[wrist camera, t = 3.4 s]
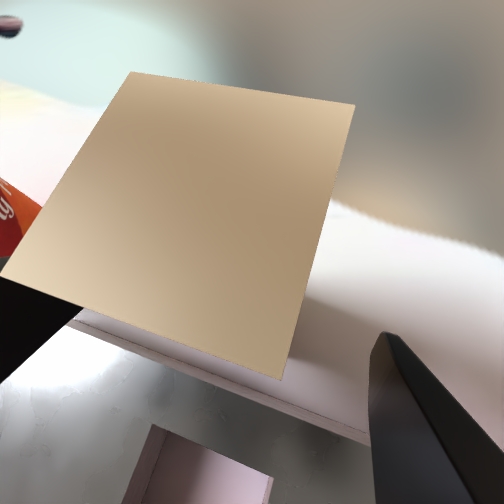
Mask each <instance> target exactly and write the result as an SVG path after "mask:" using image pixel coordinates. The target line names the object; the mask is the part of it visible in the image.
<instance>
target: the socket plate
mask: <svg viewBox="0 0 504 504" xmlns="http://www.w3.org/2000/svg"><path fill="white" fill-rule="evenodd" d="M168 431H171V432H173V433H175V434H177V435H179V436H182V437H184V438H186V439H188V440H191V441H193V442H195V443H197V444H199V445H202V446H204V447H206V448H208V449H210V450H213V451H215V452H217V453H219V454H222V455H224V456H226V457H228V458H230V459H233V460H235V461H237V462H239V463H242V464H244V465H246V466H248V467H250V468H253V469H255V470H257V471H259V472H261V473H264V474H266V475H268V476H269V480H268V484H267V488H266V491H265V495H264V499H263V503H262V504H376V502H375V490H374V478H373V466H372V454H371V442H370V435H369V434H367V433H364V432H361V431H359V430H356V429H354V428H351V427H349V426H346V425H343V424H341V423H338V422H336V421H333V420H330V419H328V418H325V417H323V416H320V415H318V414H315V413H312V412H310V411H307V410H305V409H302V408H300V407H297V406H294V405H292V404H289V403H287V402H284V401H281V400H279V399H276V398H274V397H271V396H269V395H266V394H263V393H261V392H258V391H256V390H253V389H251V388H248V387H245V386H243V385H240V384H238V383H235V382H233V381H230V380H227V379H225V378H222V377H220V376H217V375H214V374H212V373H209V372H207V371H204V370H202V369H199V368H196V367H194V366H191V365H189V364H186V363H184V362H181V361H178V360H176V359H173V358H171V357H168V356H165V355H163V354H160V353H158V352H155V351H153V350H150V349H147V348H145V347H142V346H140V345H137V344H135V343H132V342H129V341H127V340H124V339H122V338H119V337H116V336H114V335H111V334H109V333H106V332H104V331H101V330H98V329H96V328H93V327H91V326H88V325H86V324H83V323H80V322H78V321H75V320H73V319H71V320H70V321H69V322H68V323H67V324H66V325H65V326H64V327H63V328H62V329H61V330H59V331H58V332H57V333H56V334H55V335H54V336H53V337H52V338H51V339H50V340H48V341H47V342H46V343H45V344H44V345H43V346H42V347H41V348H40V349H39V350H37V351H36V352H35V353H34V354H33V355H32V356H31V357H30V358H29V359H28V360H27V361H25V362H24V363H23V364H22V365H21V366H20V367H19V368H18V369H17V370H16V371H14V372H13V373H12V374H11V375H10V376H9V377H8V378H7V379H6V380H5V381H3V382H2V383H1V384H0V504H141V502H142V500H143V497H144V494H145V492H146V489H147V486H148V483H149V481H150V478H151V475H152V473H153V470H154V467H155V465H156V462H157V459H158V457H159V454H160V451H161V448H162V446H163V443H164V440H165V438H166V435H167V432H168Z"/></svg>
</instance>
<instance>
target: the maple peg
mask: <svg viewBox="0 0 504 504" xmlns="http://www.w3.org/2000/svg"><path fill="white" fill-rule="evenodd" d="M354 109H355V105H351V104H344V103H337V102H331V101H324V100H317V99H311V98H304V97H297V96H291V95H284V94H277V93H271V92H263V91H257V90H251V89H244V88H237V87H231V86H224V85H217V84H210V83H204V82H197V81H191V80H184V79H177V78H171V77H164V76H157V75H151V74H144V73H137V72H130V73H129V75H128V76H127V78H126V79H125V81H124V83H123V84H122V86H121V87H120V89H119V90H118V92H117V93H116V95H115V96H114V98H113V99H112V101H111V103H110V104H109V106H108V107H107V109H106V110H105V112H104V113H103V115H102V116H101V118H100V120H99V121H98V123H97V124H96V126H95V127H94V129H93V130H92V132H91V133H90V135H89V137H88V138H87V140H86V141H85V143H84V144H83V146H82V147H81V149H80V150H79V152H78V154H77V155H76V157H75V158H74V160H73V161H72V163H71V164H70V166H69V167H68V169H67V171H66V172H65V174H64V175H63V177H62V178H61V180H60V181H59V183H58V185H57V186H56V188H55V189H54V191H53V192H52V194H51V195H50V197H49V198H48V200H47V202H46V203H45V205H44V206H43V208H42V209H41V211H40V212H39V214H38V215H37V217H36V219H35V220H34V222H33V223H32V225H31V226H30V228H29V229H28V231H27V232H26V234H25V236H24V237H23V239H22V240H21V242H20V243H19V245H18V246H17V248H16V249H15V251H14V253H13V254H12V256H11V257H10V259H9V260H8V262H7V263H6V265H5V266H4V268H3V270H2V271H1V273H0V276H1V277H4V278H7V279H9V280H12V281H15V282H17V283H20V284H23V285H25V286H28V287H31V288H33V289H36V290H39V291H41V292H44V293H47V294H50V295H52V296H55V297H58V298H60V299H63V300H66V301H68V302H71V303H74V304H76V305H79V306H82V307H84V308H87V309H90V310H92V311H95V312H98V313H101V314H103V315H106V316H109V317H111V318H114V319H117V320H119V321H122V322H125V323H127V324H130V325H133V326H135V327H138V328H141V329H143V330H146V331H149V332H151V333H154V334H157V335H160V336H162V337H165V338H168V339H170V340H173V341H176V342H178V343H181V344H184V345H186V346H189V347H192V348H194V349H197V350H200V351H202V352H205V353H208V354H211V355H213V356H216V357H219V358H221V359H224V360H227V361H229V362H232V363H235V364H237V365H240V366H243V367H245V368H248V369H251V370H253V371H256V372H259V373H262V374H264V375H267V376H270V377H272V378H275V379H278V380H280V381H281V379H282V375H283V371H284V368H285V364H286V360H287V357H288V353H289V349H290V346H291V342H292V338H293V334H294V331H295V327H296V323H297V320H298V316H299V312H300V309H301V305H302V301H303V297H304V294H305V290H306V286H307V283H308V279H309V275H310V271H311V268H312V264H313V260H314V257H315V253H316V249H317V246H318V242H319V238H320V234H321V231H322V227H323V223H324V220H325V216H326V212H327V209H328V205H329V201H330V197H331V194H332V190H333V186H334V182H335V179H336V175H337V172H338V168H339V164H340V160H341V157H342V153H343V149H344V146H345V141H346V138H347V134H348V131H349V127H350V123H351V119H352V116H353V112H354Z"/></svg>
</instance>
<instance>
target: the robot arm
mask: <svg viewBox="0 0 504 504" xmlns="http://www.w3.org/2000/svg"><path fill="white" fill-rule="evenodd" d="M10 257H11V256H8V257H0V273H1V271H2V270H3V268H4V266H5V265H6V263H7V262H8V260H9V259H10ZM83 308H84V307H82V306H79V305H76V304H74V303H71V302H68V301H66V300H63V299H60V298H58V297H55V296H52V295H50V294H47V293H44V292H41V291H39V290H36V289H33V288H31V287H28V286H25V285H23V284H20V283H17V282H15V281H12V280H9V279H7V278H4V277H1V276H0V384H1V383H2V382H3V381H5V380H6V379H7V378H8V377H9V376H10V375H11V374H12V373H13V372H14V371H16V370H17V369H18V368H19V367H20V366H21V365H22V364H23V363H24V362H25V361H27V360H28V359H29V358H30V357H31V356H32V355H33V354H34V353H35V352H36V351H37V350H39V349H40V348H41V347H42V346H43V345H44V344H45V343H46V342H47V341H48V340H50V339H51V338H52V337H53V336H54V335H55V334H56V333H57V332H58V331H59V330H61V329H62V328H63V327H64V326H65V325H66V324H67V323H68V322H69V321H70V320H71V319H73V318H74V317H75V316H76V315H77V314H78V313H79V312H80V311H81V310H82V309H83ZM368 417H369V430H370V442H371V454H372V466H373V478H374V490H375V502H376V504H504V452H503V451H502V450H501V449H500V448H499V447H498V446H497V444H496V443H495V442H494V441H493V440H492V439H491V438H490V437H489V436H488V434H487V433H486V432H485V431H484V430H483V429H482V428H481V427H480V426H479V424H478V423H477V422H476V421H475V420H474V419H473V418H472V417H471V416H470V414H469V413H468V412H467V411H466V410H465V409H464V408H463V407H462V406H461V404H460V403H459V402H458V401H457V400H456V399H455V398H454V397H453V396H452V394H451V393H450V392H449V391H448V390H447V389H446V388H445V387H444V386H443V384H442V383H441V382H440V381H439V380H438V379H437V378H436V377H435V376H434V374H433V373H432V372H431V371H430V370H429V369H428V368H427V367H426V366H425V364H424V363H423V362H422V361H421V360H420V359H419V358H418V357H417V356H416V354H415V353H414V352H413V351H412V350H411V349H410V348H409V347H408V346H407V344H406V343H405V342H404V341H403V340H402V339H401V338H400V337H399V336H398V335H396V334H392V333H389V332H386V331H383V332H382V333H381V334H380V335H379V337H378V339H377V341H376V343H375V345H374V347H373V349H372V352H371V355H370V367H369V395H368Z"/></svg>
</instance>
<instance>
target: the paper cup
mask: <svg viewBox="0 0 504 504" xmlns="http://www.w3.org/2000/svg"><path fill="white" fill-rule="evenodd" d="M42 208H43V207H41V206H40V205H39V204H37V203H36V202H34V201H33V200H32V199H30V198H29V197H28V196H26V195H25V194H23V193H22V192H20V191H19V190H18V189H16V188H15V187H13V186H12V185H10V184H9V183H8V182H6V181H5V180H3V179H2V178H0V257H8V256H12V254H13V253H14V251H15V249H16V248H17V246H18V245H19V243H20V242H21V240H22V239H23V237H24V236H25V234H26V232H27V231H28V229H29V228H30V226H31V225H32V223H33V222H34V220H35V219H36V217H37V215H38V214H39V212H40V211H41V209H42Z"/></svg>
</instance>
